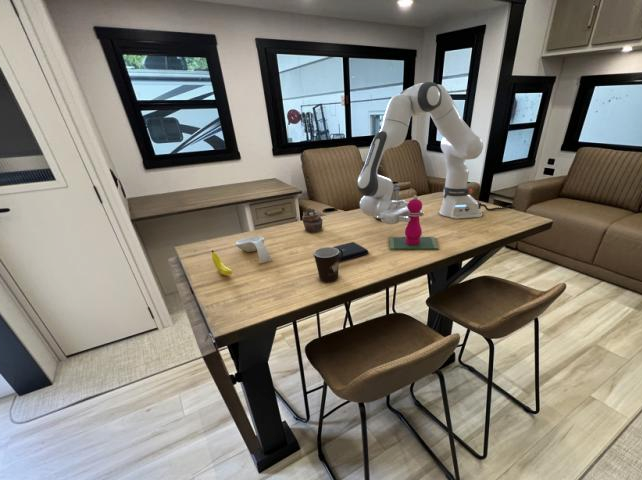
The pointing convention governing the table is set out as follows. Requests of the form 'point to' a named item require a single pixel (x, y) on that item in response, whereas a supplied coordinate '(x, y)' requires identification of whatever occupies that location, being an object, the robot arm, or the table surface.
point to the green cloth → (424, 244)
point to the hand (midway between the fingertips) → (416, 217)
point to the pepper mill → (413, 222)
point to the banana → (220, 265)
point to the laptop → (351, 251)
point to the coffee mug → (327, 263)
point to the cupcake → (312, 221)
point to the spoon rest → (255, 247)
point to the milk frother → (393, 196)
